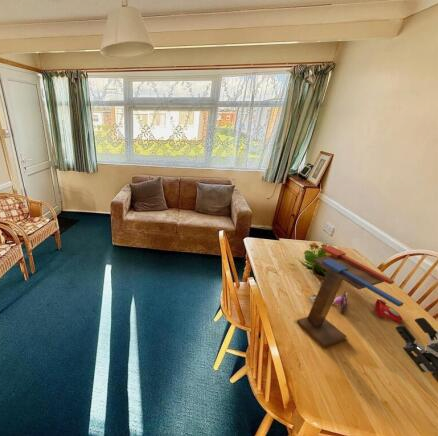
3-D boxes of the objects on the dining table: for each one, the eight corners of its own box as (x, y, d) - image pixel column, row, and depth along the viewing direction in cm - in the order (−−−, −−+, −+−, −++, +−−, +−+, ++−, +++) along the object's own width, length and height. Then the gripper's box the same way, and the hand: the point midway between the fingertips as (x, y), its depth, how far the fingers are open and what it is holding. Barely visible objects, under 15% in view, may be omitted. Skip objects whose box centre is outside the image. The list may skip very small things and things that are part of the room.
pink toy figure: (343, 301, 101) (347, 291, 106) (329, 298, 105) (333, 288, 110) (344, 314, 102) (348, 304, 107) (330, 310, 106) (334, 301, 111)
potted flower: (354, 275, 127) (366, 248, 119) (349, 297, 111) (363, 269, 104) (302, 257, 142) (310, 232, 135) (292, 275, 127) (301, 248, 120)
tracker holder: (409, 320, 98) (396, 320, 95) (400, 325, 100) (386, 326, 97) (382, 295, 107) (369, 295, 104) (374, 301, 110) (361, 300, 107)
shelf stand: (352, 342, 90) (389, 278, 76) (326, 352, 86) (359, 287, 73) (314, 311, 104) (340, 253, 90) (290, 319, 100) (313, 259, 86)
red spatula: (395, 282, 74) (397, 279, 74) (387, 285, 73) (388, 282, 73) (329, 247, 93) (330, 245, 93) (321, 249, 92) (322, 247, 92)
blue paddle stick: (405, 304, 66) (407, 301, 66) (395, 308, 65) (397, 305, 64) (330, 261, 85) (331, 258, 85) (321, 263, 84) (322, 260, 83)
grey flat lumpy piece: (318, 295, 113) (319, 292, 112) (332, 307, 106) (333, 304, 105) (305, 296, 112) (307, 293, 111) (319, 309, 105) (320, 306, 104)
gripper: (431, 400, 56) (379, 331, 65) (464, 382, 60) (410, 318, 69) (470, 403, 50) (407, 325, 59) (504, 382, 54) (440, 312, 63)
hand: (409, 322), depth 64 cm, fingers open, 8 cm apart
